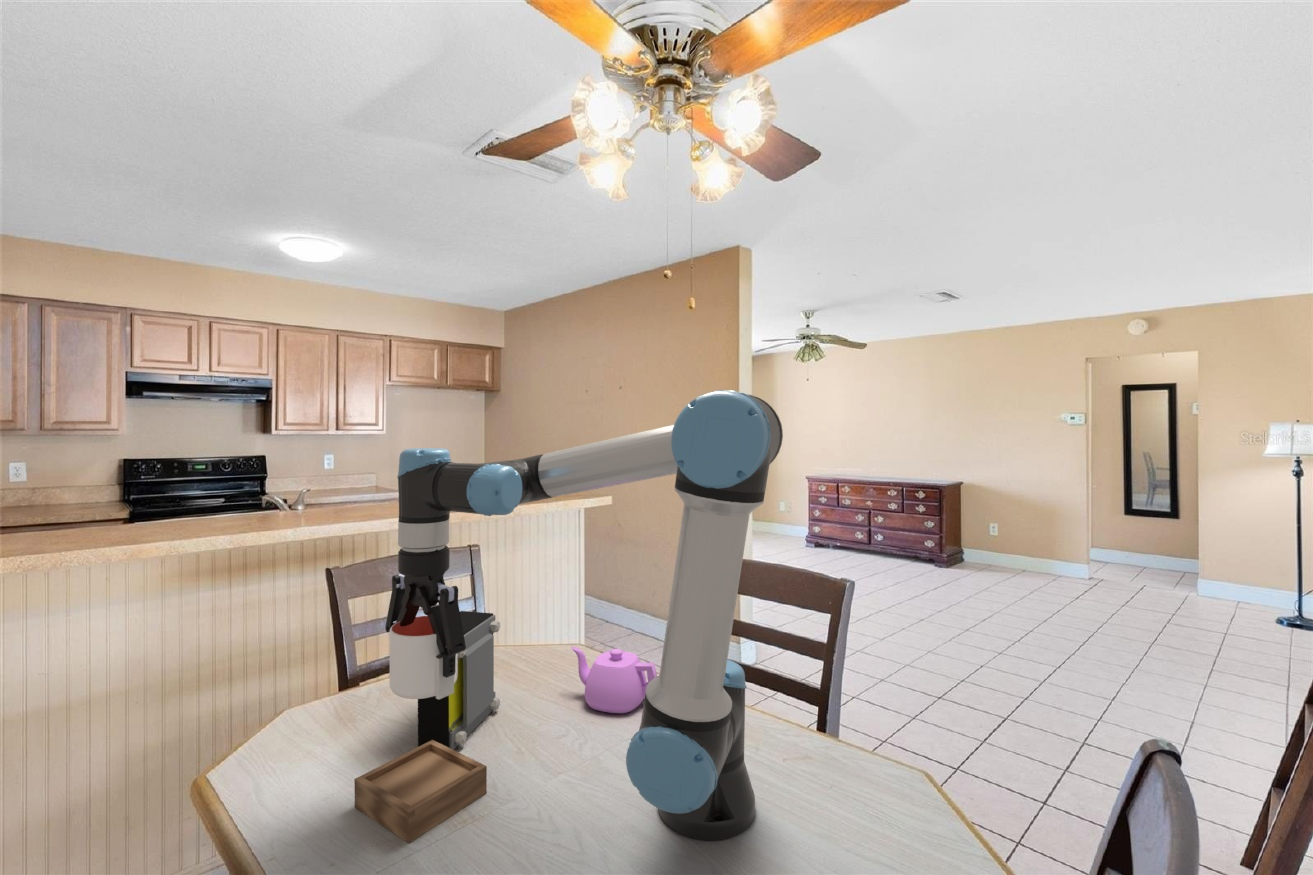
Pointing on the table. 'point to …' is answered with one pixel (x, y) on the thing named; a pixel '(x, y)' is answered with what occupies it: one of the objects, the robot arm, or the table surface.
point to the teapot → (614, 680)
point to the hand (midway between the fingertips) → (423, 686)
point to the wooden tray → (420, 789)
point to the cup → (414, 659)
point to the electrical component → (464, 687)
